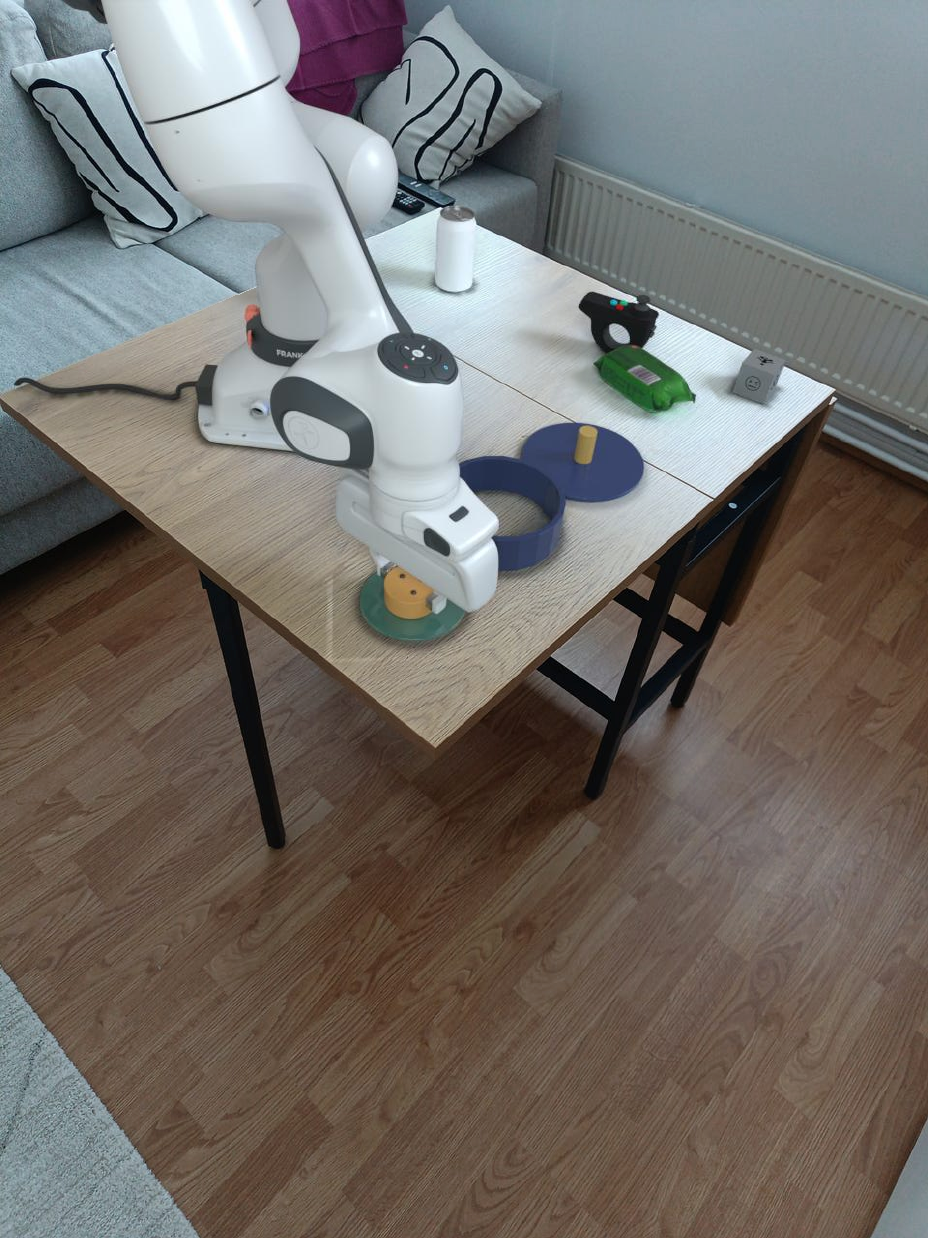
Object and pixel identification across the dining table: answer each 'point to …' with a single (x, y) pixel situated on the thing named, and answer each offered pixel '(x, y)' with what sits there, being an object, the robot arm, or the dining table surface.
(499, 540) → the cookie tin
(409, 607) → the cookie
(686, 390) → the snack package
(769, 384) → the dice cube
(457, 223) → the can
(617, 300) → the controller
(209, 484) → the dining table surface
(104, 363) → the dining table surface
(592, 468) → the tin lid
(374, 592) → the plate
